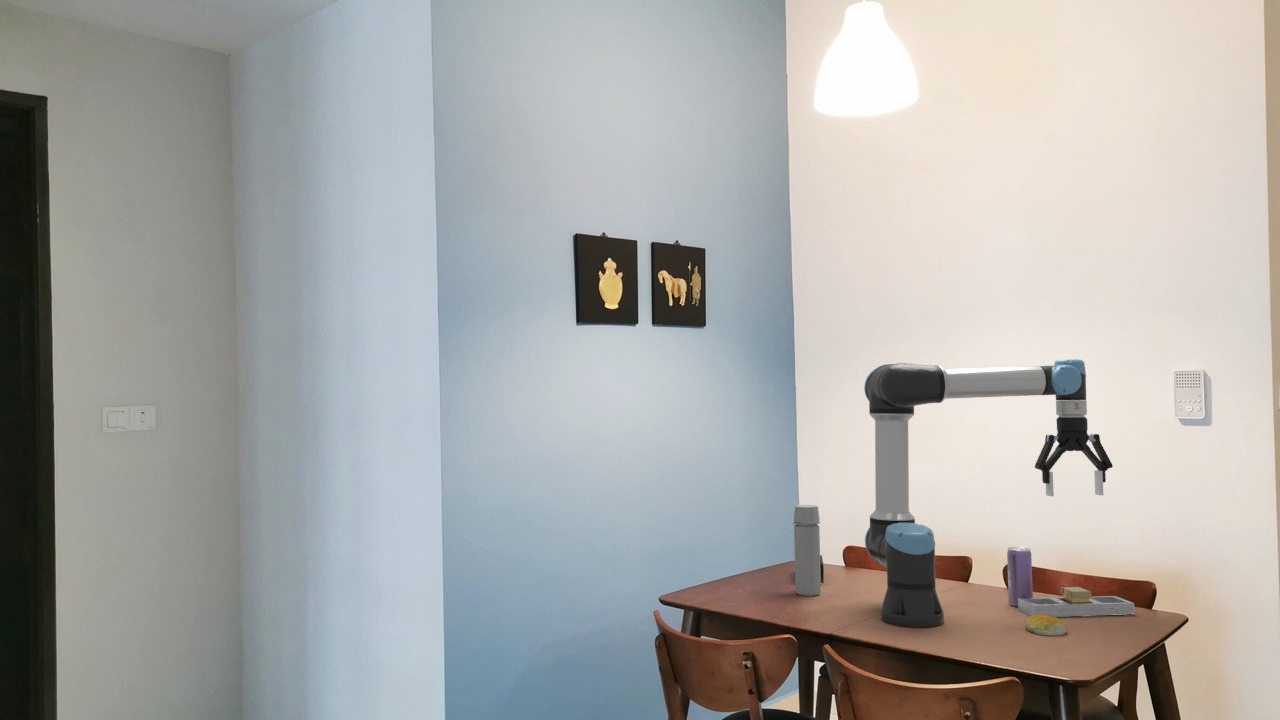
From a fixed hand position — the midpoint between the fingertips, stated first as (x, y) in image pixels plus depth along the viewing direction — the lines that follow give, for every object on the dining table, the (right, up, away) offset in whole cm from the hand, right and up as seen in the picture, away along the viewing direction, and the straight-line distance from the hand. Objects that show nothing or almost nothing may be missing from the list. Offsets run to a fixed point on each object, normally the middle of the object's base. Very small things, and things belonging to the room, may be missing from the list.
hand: (1074, 495), depth 244 cm
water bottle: (-69, -31, +16) cm, 77 cm away
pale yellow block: (-5, -28, -12) cm, 31 cm away
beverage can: (-16, -29, -3) cm, 33 cm away
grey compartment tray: (-5, -28, -11) cm, 31 cm away
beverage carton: (-64, -32, +38) cm, 81 cm away
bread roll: (-21, -28, -30) cm, 46 cm away
